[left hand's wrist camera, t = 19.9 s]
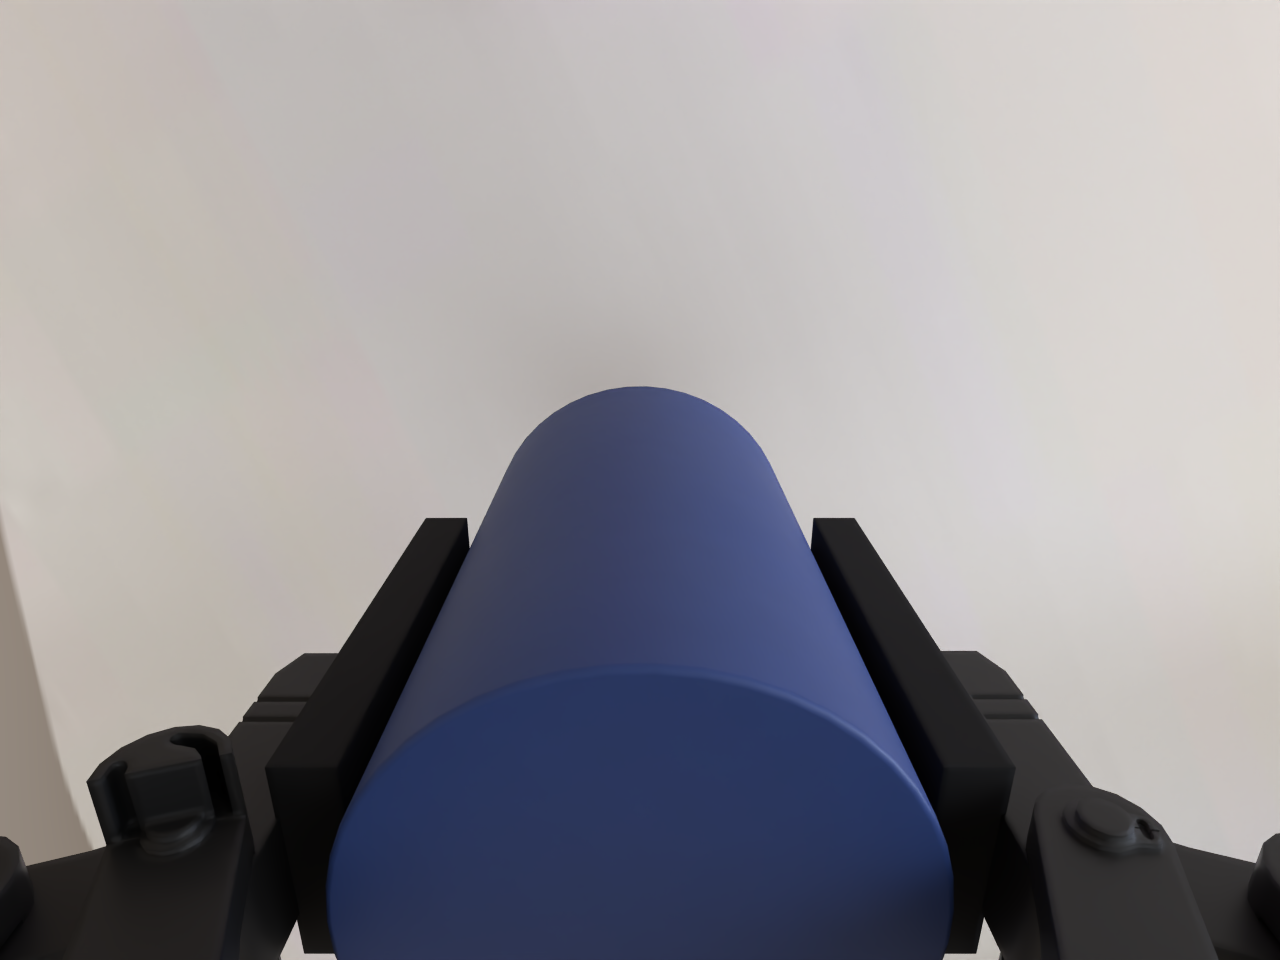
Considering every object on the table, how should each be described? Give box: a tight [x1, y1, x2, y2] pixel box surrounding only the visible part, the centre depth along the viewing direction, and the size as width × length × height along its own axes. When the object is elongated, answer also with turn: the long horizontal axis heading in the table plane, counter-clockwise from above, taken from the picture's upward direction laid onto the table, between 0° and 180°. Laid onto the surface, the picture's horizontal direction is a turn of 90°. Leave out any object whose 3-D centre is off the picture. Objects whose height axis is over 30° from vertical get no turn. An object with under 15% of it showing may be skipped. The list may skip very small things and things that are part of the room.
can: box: [326, 386, 954, 960], centre depth 13 cm, size 6×6×10 cm
